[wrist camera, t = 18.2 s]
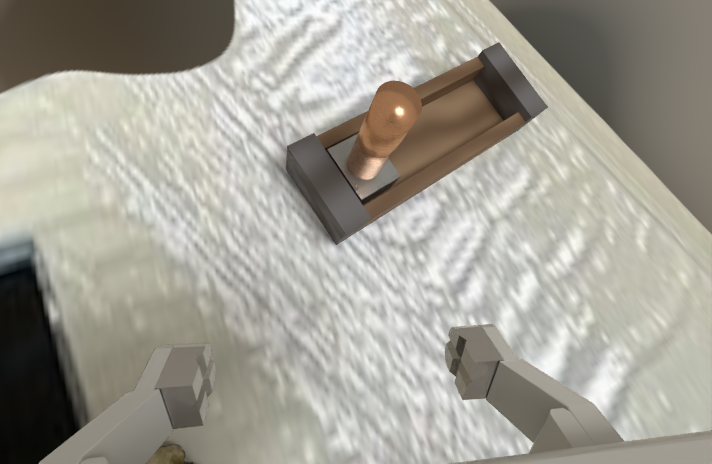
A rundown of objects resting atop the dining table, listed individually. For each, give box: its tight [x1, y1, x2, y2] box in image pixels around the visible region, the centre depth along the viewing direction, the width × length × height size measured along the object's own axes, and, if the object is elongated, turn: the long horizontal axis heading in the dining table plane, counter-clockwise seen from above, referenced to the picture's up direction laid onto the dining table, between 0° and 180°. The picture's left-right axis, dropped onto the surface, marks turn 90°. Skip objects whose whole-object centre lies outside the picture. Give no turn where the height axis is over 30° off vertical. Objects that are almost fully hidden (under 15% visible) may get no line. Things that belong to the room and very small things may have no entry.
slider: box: [327, 81, 422, 204], centre depth 30 cm, size 6×5×13 cm
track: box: [286, 43, 548, 244], centre depth 38 cm, size 10×30×5 cm, turn 124°
